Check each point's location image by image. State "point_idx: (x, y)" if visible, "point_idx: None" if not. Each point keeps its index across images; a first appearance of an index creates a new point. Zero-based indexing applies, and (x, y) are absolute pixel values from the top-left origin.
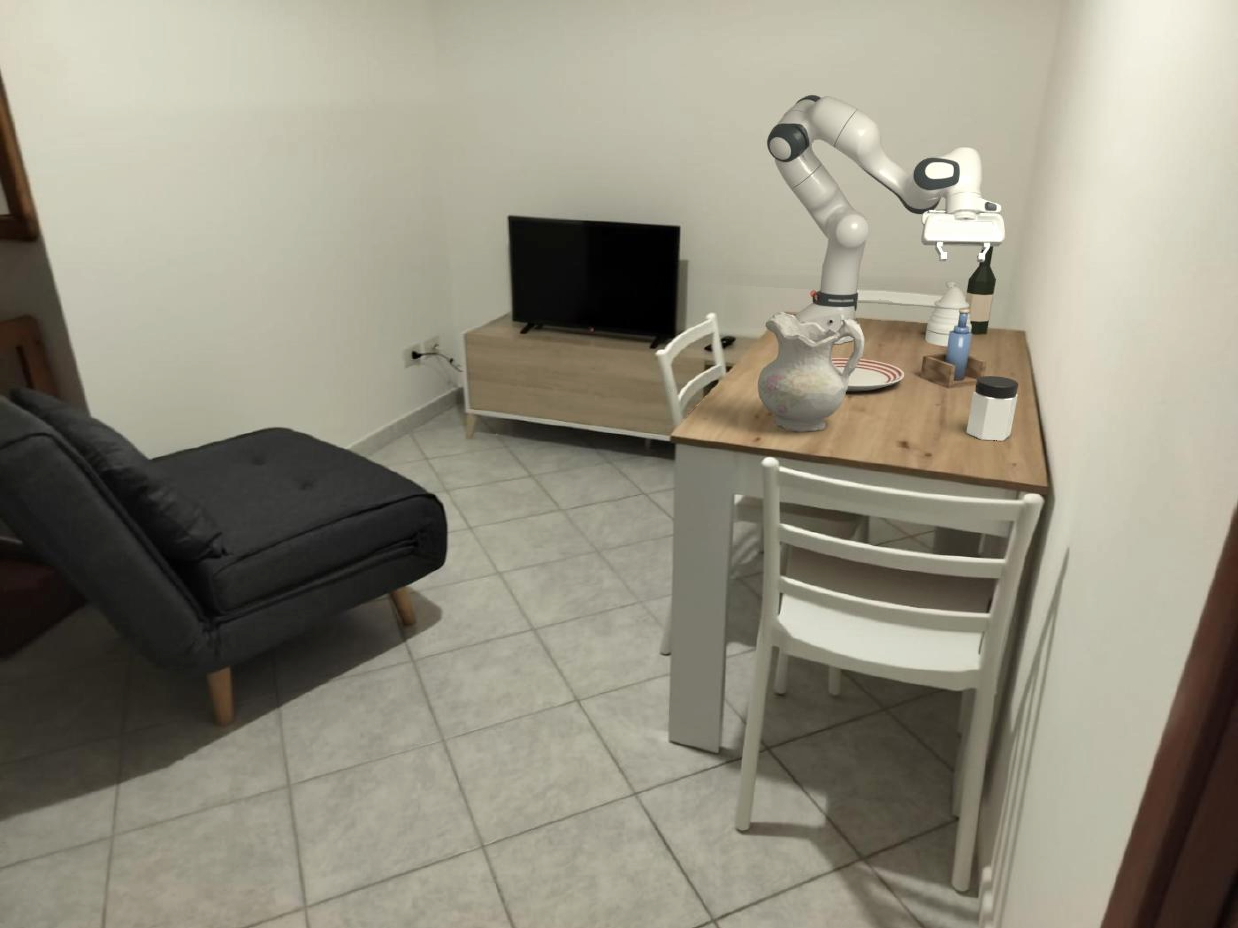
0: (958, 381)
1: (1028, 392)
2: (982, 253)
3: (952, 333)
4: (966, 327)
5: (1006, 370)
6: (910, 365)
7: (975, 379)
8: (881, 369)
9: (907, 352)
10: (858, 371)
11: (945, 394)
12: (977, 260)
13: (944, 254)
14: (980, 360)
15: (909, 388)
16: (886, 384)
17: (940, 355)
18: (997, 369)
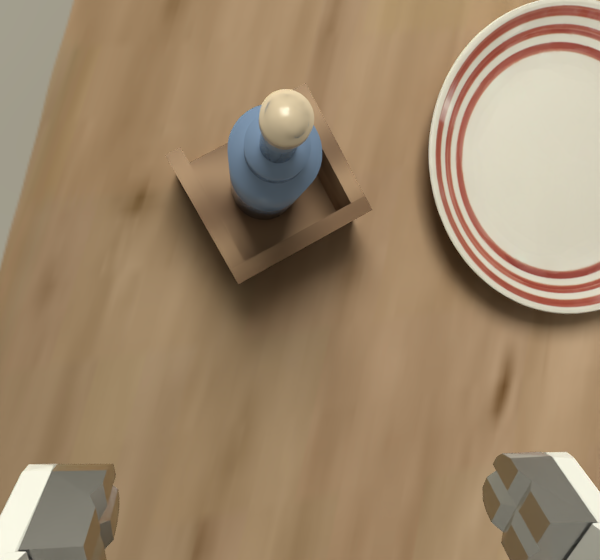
0: None
1: (57, 84)
2: (24, 554)
3: (315, 133)
4: (258, 133)
5: (52, 335)
6: (352, 353)
7: (198, 177)
8: (468, 228)
9: (330, 514)
10: (523, 236)
11: (318, 50)
12: (114, 517)
13: (565, 503)
14: (184, 168)
15: (405, 103)
16: (499, 19)
17: (311, 225)
18: (80, 344)
